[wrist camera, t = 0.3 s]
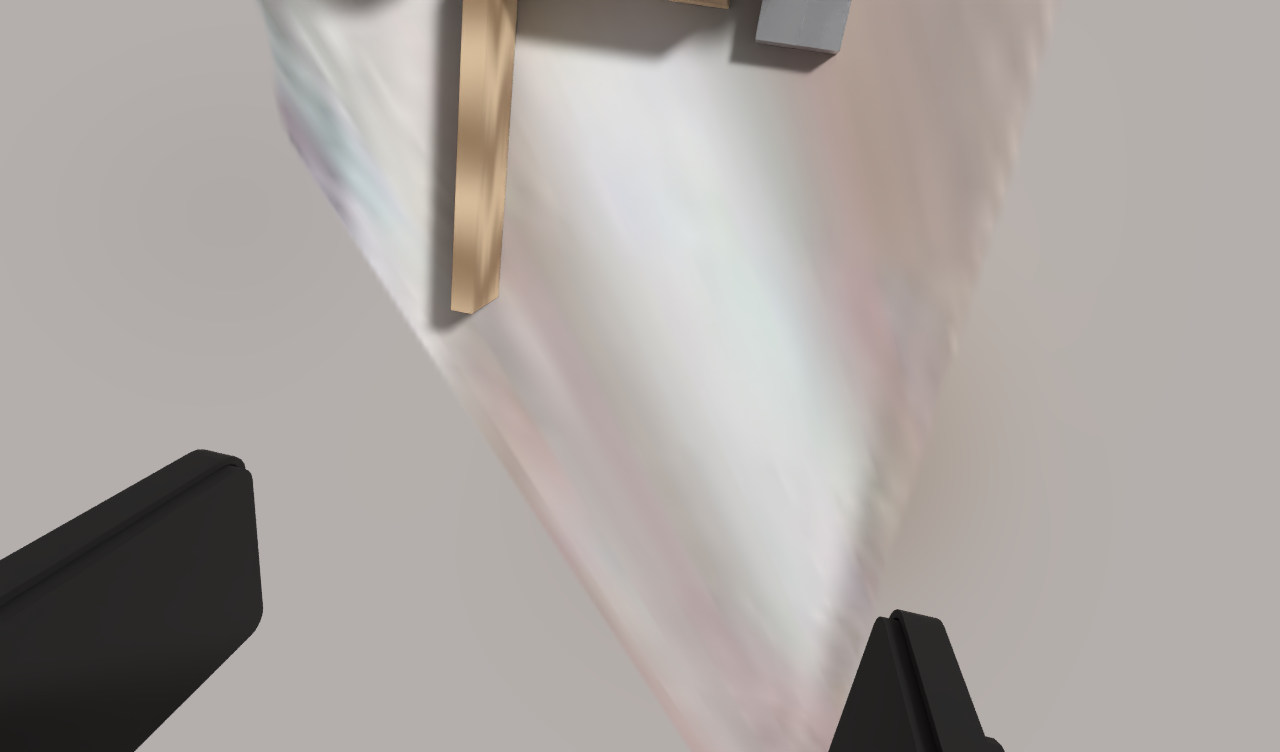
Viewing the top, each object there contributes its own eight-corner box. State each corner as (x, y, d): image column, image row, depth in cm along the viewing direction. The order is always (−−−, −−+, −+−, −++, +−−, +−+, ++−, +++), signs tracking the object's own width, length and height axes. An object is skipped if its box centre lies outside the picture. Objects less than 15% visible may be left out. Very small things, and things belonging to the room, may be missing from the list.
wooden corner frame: (498, -51, 33) (465, -73, 30) (733, -19, 32) (730, -38, 28) (479, 293, 40) (450, 309, 36) (673, 330, 39) (664, 351, 35)
